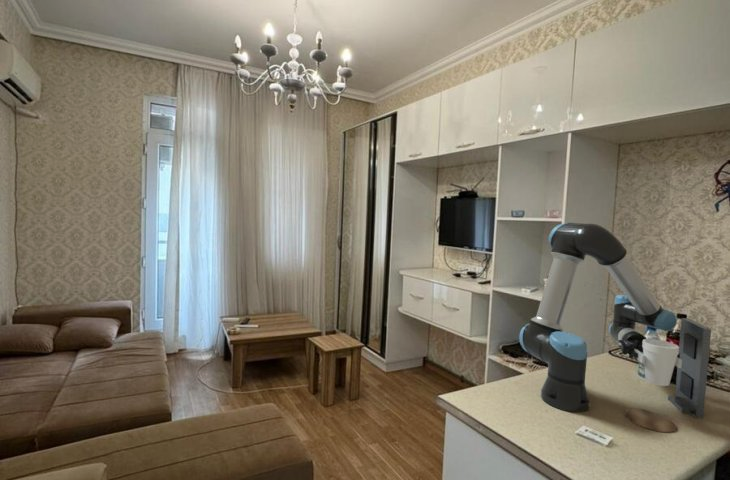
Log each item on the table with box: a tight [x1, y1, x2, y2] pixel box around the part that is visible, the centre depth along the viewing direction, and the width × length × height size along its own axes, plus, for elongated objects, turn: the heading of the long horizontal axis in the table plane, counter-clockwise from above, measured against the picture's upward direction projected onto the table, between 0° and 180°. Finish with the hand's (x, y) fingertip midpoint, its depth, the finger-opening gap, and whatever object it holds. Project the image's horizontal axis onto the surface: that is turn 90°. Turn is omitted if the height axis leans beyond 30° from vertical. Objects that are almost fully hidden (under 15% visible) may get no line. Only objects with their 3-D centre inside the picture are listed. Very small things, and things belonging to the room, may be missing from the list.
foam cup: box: [642, 338, 679, 387], centre depth 124 cm, size 10×9×13 cm
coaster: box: [625, 408, 677, 433], centre depth 121 cm, size 13×13×1 cm
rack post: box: [667, 317, 712, 419], centre depth 130 cm, size 5×14×30 cm, turn 163°
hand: (661, 361), depth 122 cm, fingers closed on foam cup, 9 cm apart
